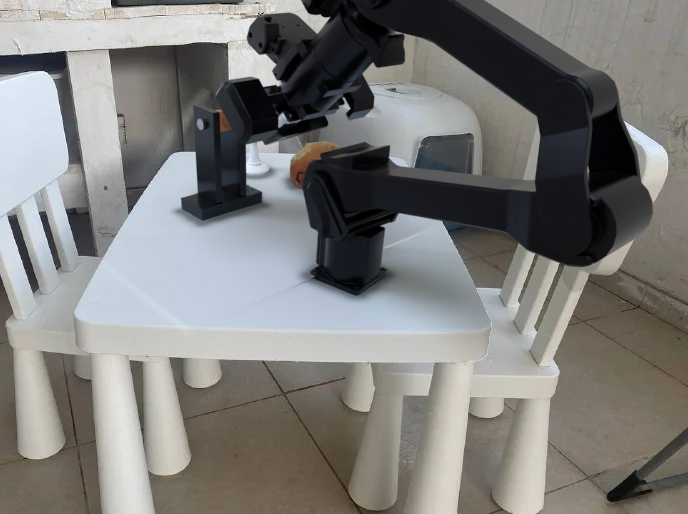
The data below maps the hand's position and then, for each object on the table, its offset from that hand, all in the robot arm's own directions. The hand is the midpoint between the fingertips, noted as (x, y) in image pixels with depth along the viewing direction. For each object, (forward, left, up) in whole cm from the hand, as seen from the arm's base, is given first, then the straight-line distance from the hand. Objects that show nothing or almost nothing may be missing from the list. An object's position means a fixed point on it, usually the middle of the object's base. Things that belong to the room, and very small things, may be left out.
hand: (265, 141), depth 72 cm
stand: (+9, -2, -12) cm, 15 cm away
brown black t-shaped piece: (+6, -1, 0) cm, 6 cm away
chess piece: (+15, -15, -12) cm, 25 cm away
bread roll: (+4, -18, -12) cm, 22 cm away
